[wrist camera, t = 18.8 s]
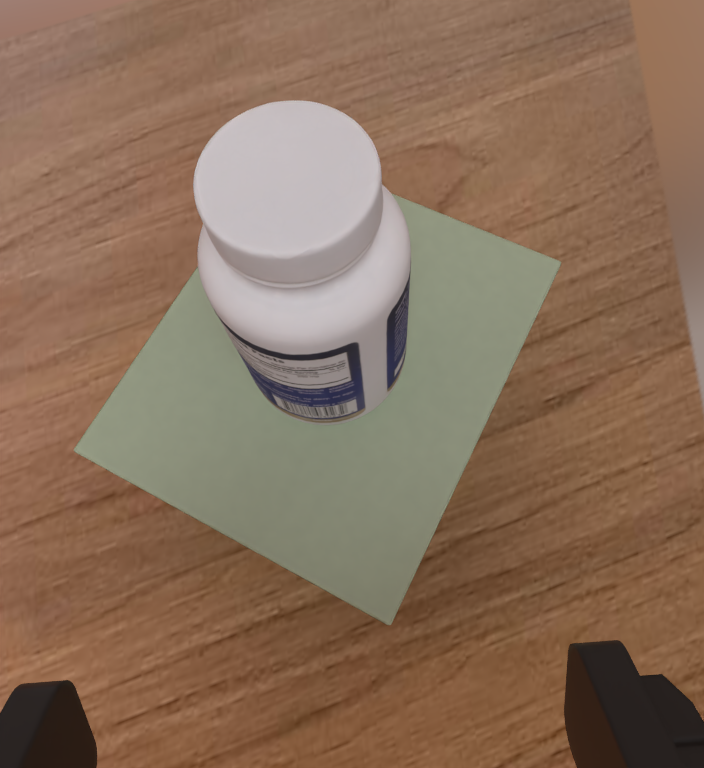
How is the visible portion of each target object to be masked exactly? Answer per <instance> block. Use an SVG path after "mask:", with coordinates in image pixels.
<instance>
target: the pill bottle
mask: <svg viewBox="0 0 704 768" xmlns="http://www.w3.org/2000/svg"><path fill="white" fill-rule="evenodd" d="M193 188H194V198H195V203H196V207H197V210H198V213H199V215H200V217H201V219H202V222H203V226H202V230H201V233H200V237H199V243H198V269H199V275H200V279H201V282H202V285H203V288H204V291H205V293H206V295H207V297H208V299H209V301H210V303H211V305H212V307H213V309H214V311H215V313H216V314H217V316H218V318H219V319H220V321H221V323H222V325H223V327H224V328H225V330H226V332H227V334H228V336H229V338H230V339H231V341H232V343H233V345H234V346H235V348H236V349H237V351H238V353H239V354H240V356H241V358H242V360H243V361H244V363H245V365H246V367H247V368H248V370H249V372H250V374H251V376H252V378H253V380H254V381H255V383H256V385H257V386H258V388H259V389H260V391H261V392H262V394H263V395H264V396H265V398H266V399H267V400H268V401H269V402H270V403H271V404H272V405H273V406H274V407H275V408H276V409H278V410H279V411H281V412H282V413H284V414H285V415H287V416H289V417H291V418H293V419H296V420H298V421H301V422H305V423H309V424H314V425H337V424H342V423H346V422H350V421H353V420H355V419H358V418H360V417H362V416H364V415H366V414H367V413H369V412H371V411H372V410H374V409H375V408H376V407H377V406H379V405H380V404H381V403H382V402H383V401H384V400H385V399H386V398H387V396H388V395H389V394H390V392H391V391H392V390H393V388H394V387H395V385H396V383H397V381H398V379H399V377H400V375H401V372H402V369H403V365H404V361H405V355H406V344H407V325H408V306H409V289H410V272H411V247H410V236H409V230H408V226H407V223H406V220H405V217H404V214H403V212H402V210H401V209H400V207H399V205H398V203H397V201H396V200H395V198H394V197H393V196H392V194H391V193H390V192H389V191H388V190H387V188H386V187H385V186H384V185H383V184H382V173H381V165H380V159H379V156H378V153H377V150H376V148H375V146H374V144H373V142H372V140H371V138H370V137H369V136H368V134H367V133H366V132H365V130H364V129H363V128H362V127H361V126H360V125H359V124H358V123H357V122H356V121H354V120H353V119H352V118H351V117H349V116H348V115H346V114H344V113H342V112H341V111H339V110H337V109H335V108H332V107H329V106H327V105H323V104H320V103H316V102H309V101H295V100H294V101H279V102H273V103H267V104H264V105H261V106H258V107H255V108H253V109H250V110H248V111H246V112H244V113H242V114H240V115H238V116H237V117H235V118H233V119H232V120H230V121H229V122H227V123H226V124H225V125H224V126H223V127H221V128H220V129H219V130H218V131H217V132H216V133H215V134H214V136H213V137H212V138H211V139H210V140H209V142H208V143H207V145H206V146H205V148H204V150H203V152H202V153H201V155H200V157H199V160H198V162H197V166H196V169H195V174H194V183H193Z"/></svg>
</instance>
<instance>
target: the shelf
mask: <svg viewBox="0 0 704 768" xmlns="http://www.w3.org/2000/svg"><path fill="white" fill-rule="evenodd" d="M391 194H392V193H391ZM392 196H393V197H394V198H395V200H396V201H397V203H398V205H399V207H400V209H401V210H402V212H403V214H404V217H405V220H406V223H407V226H408V230H409V236H410V247H411V272H410V289H409V306H408V325H407V344H406V355H405V361H404V365H403V369H402V372H401V375H400V377H399V379H398V381H397V383H396V385H395V387H394V388H393V390H392V391H391V392H390V394H389V395H388V396H387V398H386V399H385V400H384V401H383V402H382V403H381V404H380V405H379V406H377V407H376V408H375V409H374V410H372V411H371V412H369V413H367V414H366V415H364V416H362V417H360V418H358V419H355V420H353V421H350V422H346V423H342V424H337V425H314V424H309V423H305V422H301V421H298V420H296V419H293V418H291V417H289V416H287V415H285V414H284V413H282V412H281V411H279V410H278V409H276V408H275V407H274V406H273V405H272V404H271V403H270V402H269V401H268V400H267V399H266V398H265V396H264V395H263V394H262V392H261V391H260V389H259V388H258V386H257V385H256V383H255V381H254V380H253V378H252V376H251V374H250V372H249V370H248V368H247V367H246V365H245V363H244V361H243V360H242V358H241V356H240V354H239V353H238V351H237V349H236V348H235V346H234V345H233V343H232V341H231V339H230V338H229V336H228V334H227V332H226V330H225V328H224V327H223V325H222V323H221V321H220V319H219V318H218V316H217V314H216V313H215V311H214V309H213V307H212V305H211V303H210V301H209V299H208V297H207V295H206V293H205V291H204V288H203V285H202V282H201V279H200V275H199V269H198V267H197V268H196V270H195V271H194V273H193V274H192V276H191V277H190V279H189V280H188V281H187V283H186V284H185V286H184V287H183V289H182V290H181V292H180V293H179V295H178V296H177V298H176V299H175V301H174V302H173V304H172V305H171V307H170V308H169V310H168V311H167V312H166V314H165V315H164V317H163V318H162V320H161V321H160V323H159V324H158V326H157V327H156V329H155V330H154V332H153V333H152V335H151V336H150V338H149V339H148V341H147V342H146V344H145V345H144V346H143V348H142V349H141V351H140V352H139V354H138V355H137V357H136V358H135V360H134V361H133V363H132V364H131V366H130V367H129V369H128V370H127V372H126V373H125V375H124V376H123V377H122V379H121V380H120V382H119V383H118V385H117V386H116V388H115V389H114V391H113V392H112V394H111V395H110V397H109V398H108V400H107V401H106V403H105V404H104V406H103V407H102V409H101V410H100V411H99V413H98V414H97V416H96V417H95V419H94V420H93V422H92V423H91V425H90V426H89V428H88V429H87V431H86V432H85V434H84V435H83V437H82V438H81V440H80V441H79V442H78V444H77V445H76V447H75V448H74V451H75V452H76V453H78V454H79V455H81V456H83V457H85V458H87V459H88V460H90V461H92V462H94V463H96V464H97V465H99V466H101V467H103V468H105V469H106V470H108V471H110V472H112V473H114V474H115V475H117V476H119V477H121V478H123V479H124V480H126V481H128V482H130V483H132V484H134V485H135V486H137V487H139V488H141V489H143V490H144V491H146V492H148V493H150V494H152V495H153V496H155V497H157V498H159V499H161V500H162V501H164V502H166V503H168V504H170V505H171V506H173V507H175V508H177V509H179V510H181V511H182V512H184V513H186V514H188V515H190V516H191V517H193V518H195V519H197V520H199V521H200V522H202V523H204V524H206V525H208V526H209V527H211V528H213V529H215V530H217V531H218V532H220V533H222V534H224V535H226V536H227V537H229V538H231V539H233V540H235V541H237V542H238V543H240V544H242V545H244V546H246V547H247V548H249V549H251V550H253V551H255V552H256V553H258V554H260V555H262V556H264V557H265V558H267V559H269V560H271V561H273V562H274V563H276V564H278V565H280V566H282V567H284V568H285V569H287V570H289V571H291V572H293V573H294V574H296V575H298V576H300V577H302V578H303V579H305V580H307V581H309V582H311V583H312V584H314V585H316V586H318V587H320V588H321V589H323V590H325V591H327V592H329V593H330V594H332V595H334V596H336V597H338V598H340V599H341V600H343V601H345V602H347V603H349V604H350V605H352V606H354V607H356V608H358V609H359V610H361V611H363V612H365V613H367V614H368V615H370V616H372V617H374V618H376V619H377V620H379V621H381V622H383V623H385V624H386V625H391V624H392V622H393V620H394V618H395V615H396V613H397V611H398V609H399V607H400V605H401V603H402V601H403V598H404V596H405V594H406V592H407V590H408V588H409V586H410V584H411V582H412V579H413V577H414V575H415V573H416V571H417V569H418V567H419V565H420V562H421V560H422V558H423V556H424V554H425V552H426V550H427V548H428V545H429V543H430V541H431V539H432V537H433V535H434V533H435V531H436V529H437V526H438V524H439V522H440V520H441V518H442V516H443V514H444V512H445V509H446V507H447V505H448V503H449V501H450V499H451V497H452V495H453V492H454V490H455V488H456V486H457V484H458V482H459V480H460V478H461V476H462V473H463V471H464V469H465V467H466V465H467V463H468V461H469V459H470V456H471V454H472V452H473V450H474V448H475V446H476V444H477V442H478V439H479V437H480V435H481V433H482V431H483V429H484V427H485V425H486V423H487V420H488V418H489V416H490V414H491V412H492V410H493V408H494V406H495V403H496V401H497V399H498V397H499V395H500V393H501V391H502V389H503V386H504V384H505V382H506V380H507V378H508V376H509V374H510V372H511V370H512V367H513V365H514V363H515V361H516V359H517V357H518V355H519V353H520V350H521V348H522V346H523V344H524V342H525V340H526V338H527V336H528V333H529V331H530V329H531V327H532V325H533V323H534V321H535V319H536V317H537V314H538V312H539V310H540V308H541V306H542V304H543V302H544V300H545V297H546V295H547V293H548V291H549V289H550V287H551V285H552V283H553V280H554V278H555V276H556V274H557V272H558V270H559V268H560V266H561V262H560V261H558V260H556V259H553V258H551V257H548V256H546V255H543V254H541V253H538V252H536V251H533V250H531V249H528V248H526V247H523V246H521V245H519V244H516V243H514V242H511V241H509V240H506V239H504V238H501V237H499V236H496V235H494V234H491V233H489V232H486V231H484V230H481V229H479V228H476V227H474V226H471V225H469V224H466V223H464V222H461V221H459V220H456V219H454V218H451V217H449V216H446V215H444V214H441V213H439V212H436V211H434V210H431V209H429V208H426V207H424V206H421V205H419V204H416V203H414V202H411V201H409V200H406V199H404V198H401V197H399V196H396V195H394V194H392Z"/></svg>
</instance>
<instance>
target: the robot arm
mask: <svg viewBox="0 0 704 768" xmlns="http://www.w3.org/2000/svg"><path fill="white" fill-rule="evenodd" d="M564 716H565V725H566V731H567V736H568V741H569V745H570V748H571V752H572V755H573V758H574V760H575V763H576V766H577V768H704V722H703V720H702V718H701V717H700V715H699V713H698V711H697V710H696V708H695V706H694V704H693V703H692V702H691V701H690V700H689V699H688V698H687V697H686V696H685V695H684V694H683V693H682V692H681V691H679V690H678V689H677V688H676V687H675V686H674V685H673V684H672V683H671V682H670V681H669V680H668V679H667V678H665V677H664V676H663V675H662V674H659V675H645V676H640V675H639V673H638V671H637V669H636V667H635V665H634V663H633V661H632V659H631V657H630V655H629V654H628V652H627V650H626V648H625V646H624V645H623V644H622V643H621V642H620V641H618V640H613V641H600V642H587V643H574V644H570V646H569V650H568V662H567V676H566V690H565V705H564ZM96 766H97V747H96V742H95V739H94V736H93V734H92V731H91V728H90V726H89V723H88V720H87V718H86V715H85V712H84V710H83V707H82V704H81V702H80V699H79V696H78V694H77V691H76V688H75V686H74V684H73V683H72V682H71V681H68V680H65V681H52V682H39V683H26V684H21V685H19V686H18V687H16V688H15V689H14V691H13V692H12V693H11V695H10V697H9V698H8V700H7V702H6V704H5V706H4V708H3V709H2V711H1V713H0V768H96Z"/></svg>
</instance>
